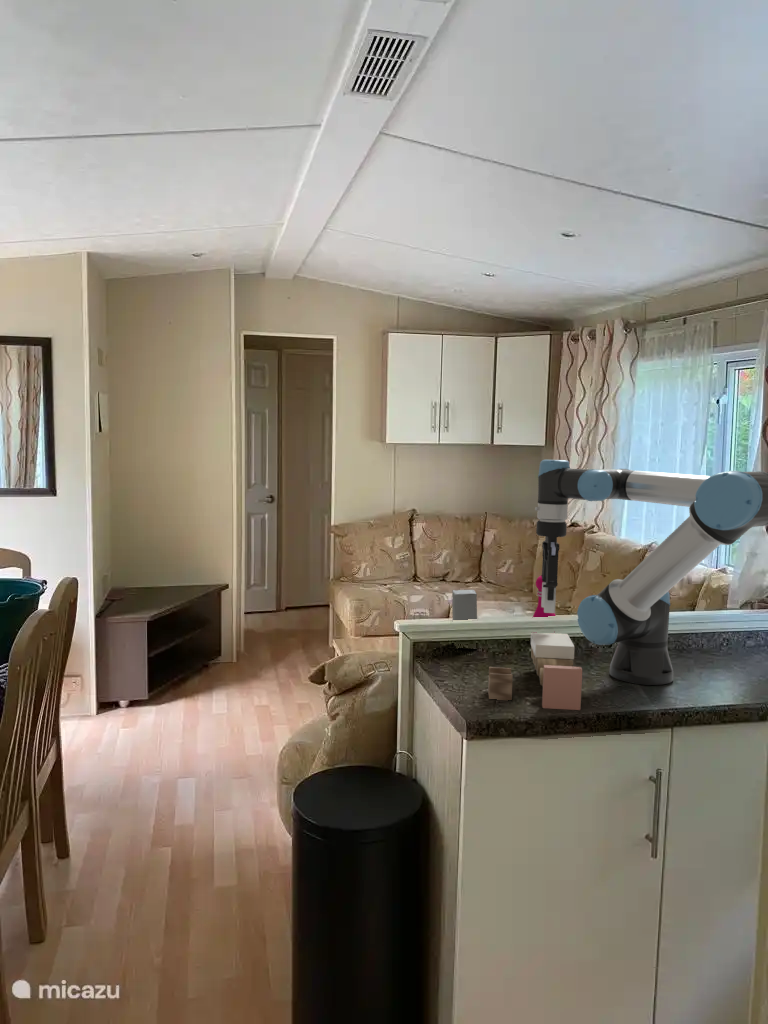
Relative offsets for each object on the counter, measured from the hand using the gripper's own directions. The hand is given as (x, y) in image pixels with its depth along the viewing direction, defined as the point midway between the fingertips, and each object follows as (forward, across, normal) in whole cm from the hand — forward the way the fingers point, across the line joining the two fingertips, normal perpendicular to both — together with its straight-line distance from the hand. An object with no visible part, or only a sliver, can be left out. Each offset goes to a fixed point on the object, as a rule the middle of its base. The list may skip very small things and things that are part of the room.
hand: (547, 609), depth 208 cm
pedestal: (+15, +27, -13) cm, 33 cm away
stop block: (+15, +33, 0) cm, 36 cm away
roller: (+12, +26, 0) cm, 29 cm away
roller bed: (+15, +17, 0) cm, 23 cm away
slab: (+8, +12, 0) cm, 14 cm away
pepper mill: (+15, -35, +3) cm, 38 cm away
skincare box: (+15, -17, -21) cm, 31 cm away
